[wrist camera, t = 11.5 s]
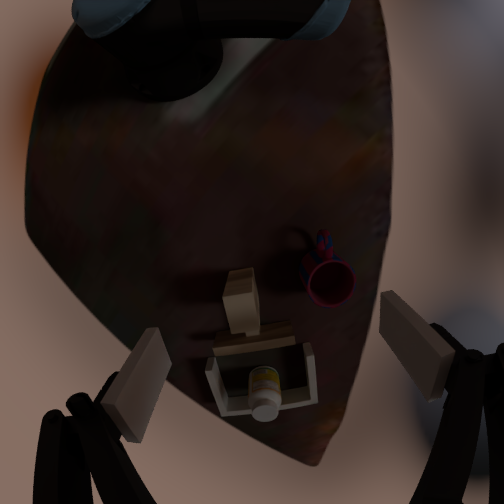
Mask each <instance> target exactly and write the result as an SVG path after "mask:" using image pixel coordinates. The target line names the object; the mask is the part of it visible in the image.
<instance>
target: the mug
mask: <svg viewBox="0 0 504 504" xmlns="http://www.w3.org/2000/svg"><path fill="white" fill-rule="evenodd" d="M324 246H325V247H324ZM299 275H300V278H301V281H302V283H303V285H304V287H305V289H306V291H307V293H308V295H309V297H310V299H311V300H312V301H313V302H314V303H315V304H316V305H318V306H320V307H324V308H334V307H338V306H340V305H342V304H343V303H345V302H346V301H347V300H348V299H349V298H350V297H351V296H352V294H353V292H354V290H355V286H356V275H355V272H354V270H353V269H352V267H351V266H350V265H349V264H348V263H347V262H345V261H344V260H343V259H342V258H341V257H340V256H338V255H337V254H336V253H335V252H334V251H333V245H332V239H331V236H330V233H329V232H328V231H327V230H319V231H318V233H317V248H316V249H313V250H311V251H310V252H308V253H307V254H306V255H305V256H304V257H303V259H302V260H301V263H300V266H299Z"/></svg>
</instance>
